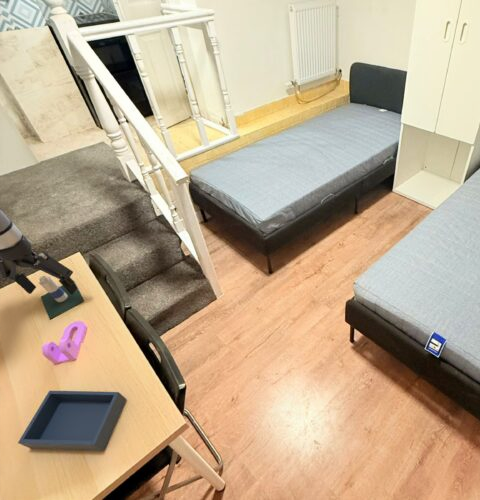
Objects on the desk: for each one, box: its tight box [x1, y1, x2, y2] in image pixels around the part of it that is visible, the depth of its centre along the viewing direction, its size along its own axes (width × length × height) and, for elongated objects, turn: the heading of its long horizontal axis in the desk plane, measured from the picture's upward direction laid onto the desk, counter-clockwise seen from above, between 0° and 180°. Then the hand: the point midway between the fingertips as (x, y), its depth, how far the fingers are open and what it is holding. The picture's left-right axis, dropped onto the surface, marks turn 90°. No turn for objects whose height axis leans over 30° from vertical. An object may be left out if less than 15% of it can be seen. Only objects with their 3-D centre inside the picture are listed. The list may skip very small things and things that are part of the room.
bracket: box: [41, 320, 88, 365], centre depth 95 cm, size 13×6×7 cm, turn 13°
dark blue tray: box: [17, 390, 127, 452], centre depth 79 cm, size 18×12×5 cm, turn 88°
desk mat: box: [40, 280, 85, 321], centre depth 108 cm, size 12×10×1 cm
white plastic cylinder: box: [38, 275, 68, 302], centre depth 105 cm, size 3×3×10 cm
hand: (53, 290), depth 105 cm, fingers open, 13 cm apart
